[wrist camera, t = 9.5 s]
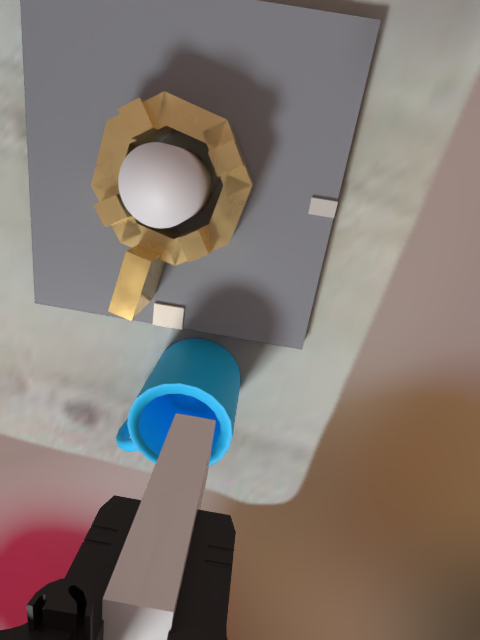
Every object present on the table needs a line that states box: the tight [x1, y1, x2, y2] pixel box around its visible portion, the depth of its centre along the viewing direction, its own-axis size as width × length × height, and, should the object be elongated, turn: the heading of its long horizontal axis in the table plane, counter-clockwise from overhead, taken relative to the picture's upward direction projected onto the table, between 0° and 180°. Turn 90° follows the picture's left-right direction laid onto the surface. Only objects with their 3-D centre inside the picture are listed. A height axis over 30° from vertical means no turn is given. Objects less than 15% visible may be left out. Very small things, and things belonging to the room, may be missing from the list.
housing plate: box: [20, 0, 381, 349], centre depth 27 cm, size 24×24×8 cm
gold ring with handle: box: [91, 91, 254, 321], centre depth 27 cm, size 15×10×6 cm
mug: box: [116, 338, 241, 467], centre depth 34 cm, size 12×8×8 cm
